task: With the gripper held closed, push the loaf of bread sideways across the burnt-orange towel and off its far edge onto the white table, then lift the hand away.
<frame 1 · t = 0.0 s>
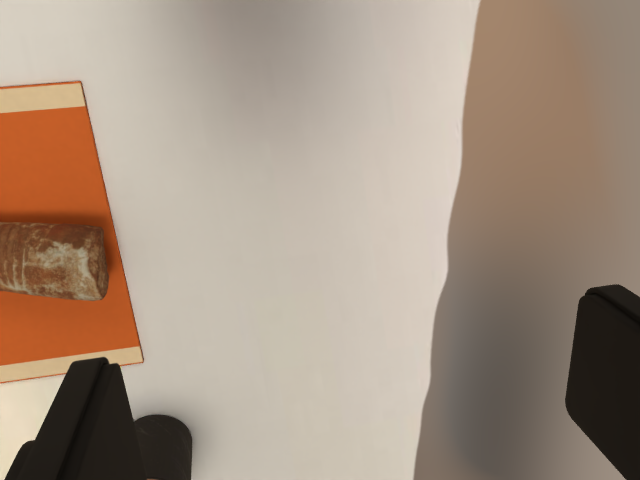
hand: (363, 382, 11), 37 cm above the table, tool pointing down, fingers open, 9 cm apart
travel mug: (157, 440, 55), on the table
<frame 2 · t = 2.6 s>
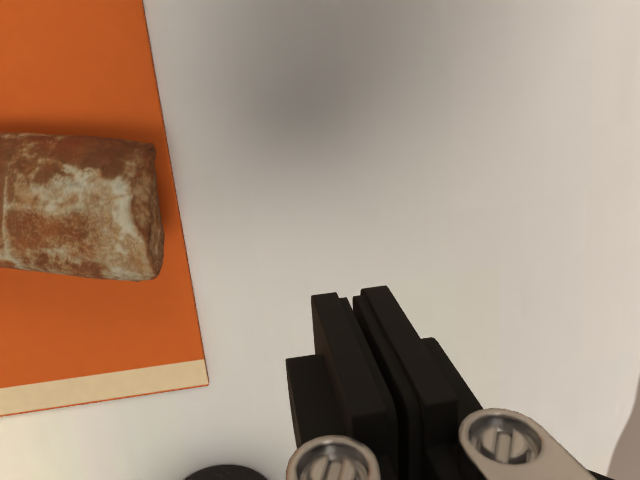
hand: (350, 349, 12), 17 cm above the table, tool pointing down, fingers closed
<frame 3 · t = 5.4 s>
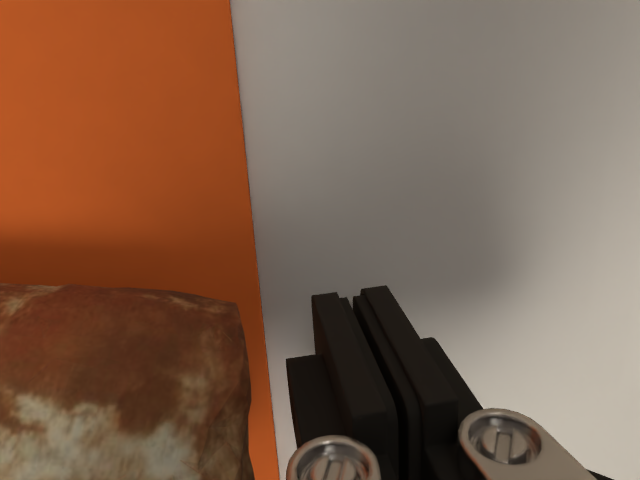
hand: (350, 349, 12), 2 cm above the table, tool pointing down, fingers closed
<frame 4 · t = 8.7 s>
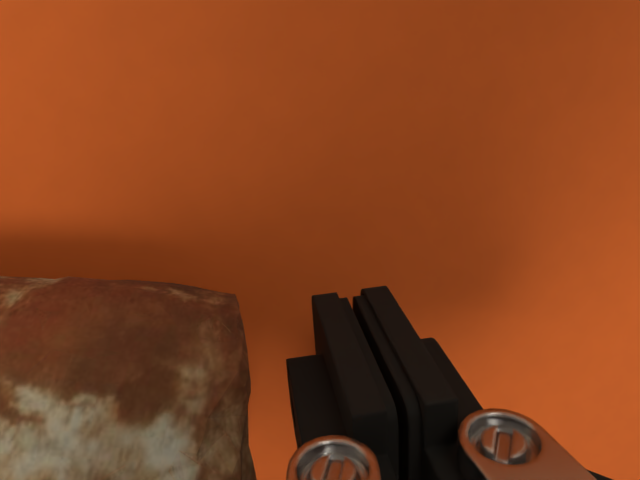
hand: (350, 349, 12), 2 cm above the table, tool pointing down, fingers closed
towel: (383, 283, 13), on the table
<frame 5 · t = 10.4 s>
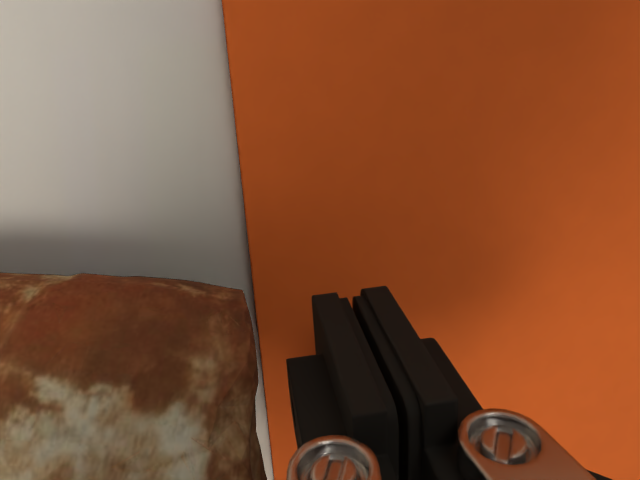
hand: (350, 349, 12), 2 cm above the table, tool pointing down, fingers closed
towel: (621, 260, 14), on the table
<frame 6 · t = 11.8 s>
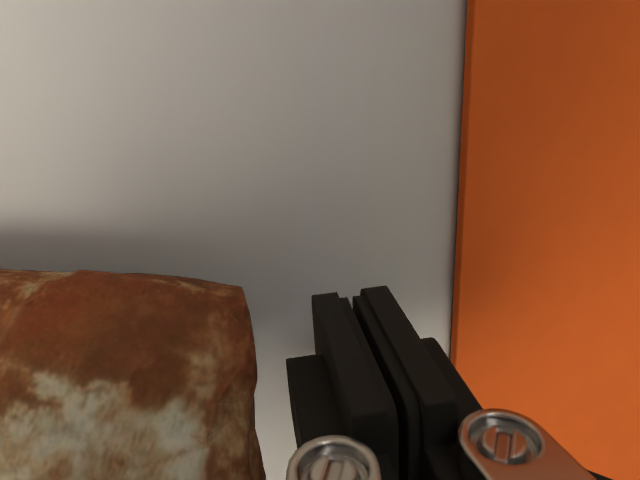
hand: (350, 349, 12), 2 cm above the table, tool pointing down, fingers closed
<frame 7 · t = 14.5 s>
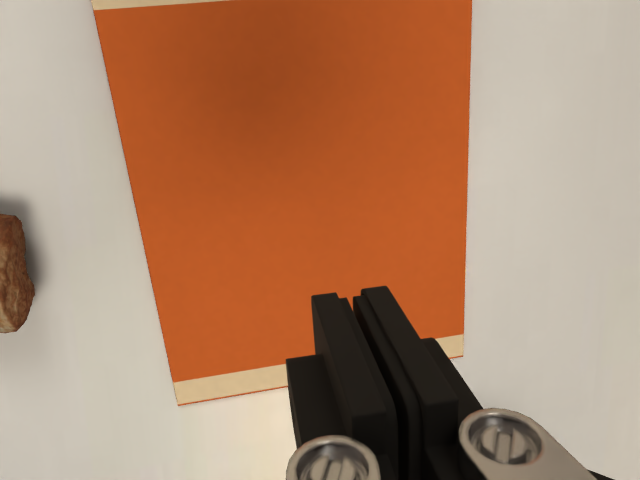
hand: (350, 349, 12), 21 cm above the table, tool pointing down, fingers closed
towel: (309, 197, 32), on the table
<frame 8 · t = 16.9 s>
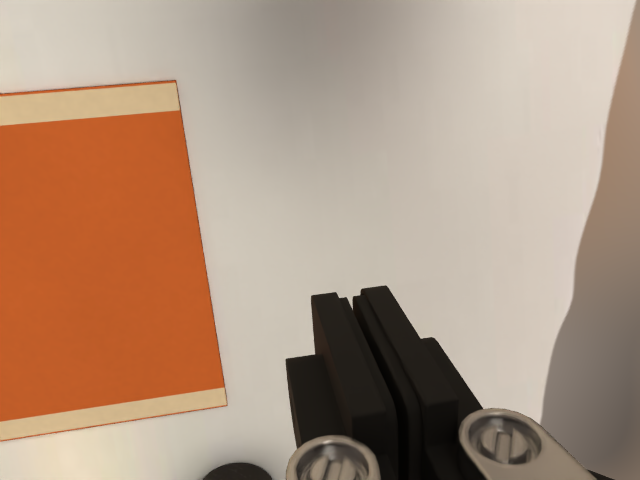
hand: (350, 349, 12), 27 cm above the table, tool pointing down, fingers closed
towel: (64, 278, 38), on the table
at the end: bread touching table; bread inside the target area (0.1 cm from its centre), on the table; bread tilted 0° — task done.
